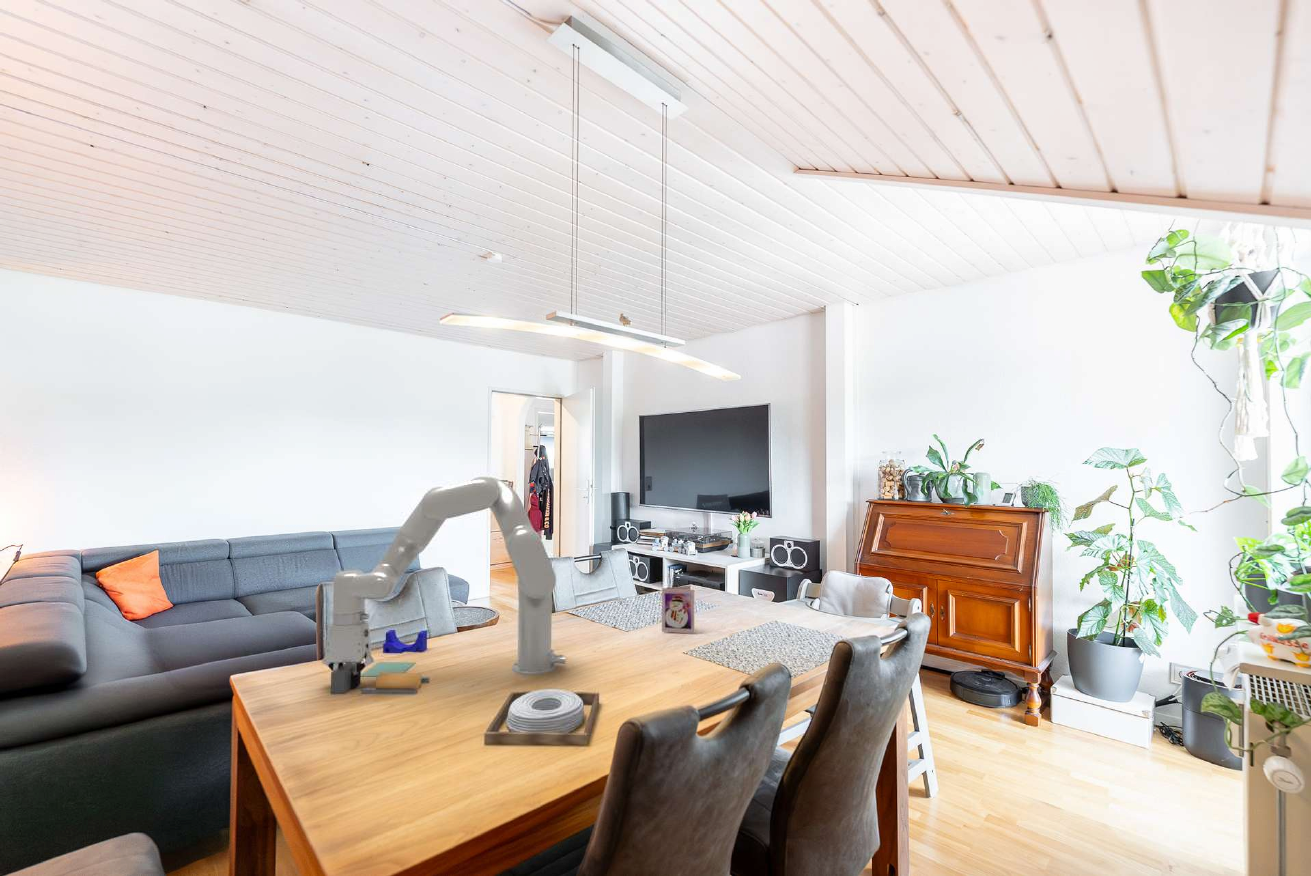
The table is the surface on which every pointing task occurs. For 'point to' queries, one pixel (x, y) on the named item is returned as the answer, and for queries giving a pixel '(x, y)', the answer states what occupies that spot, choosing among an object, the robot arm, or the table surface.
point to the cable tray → (540, 737)
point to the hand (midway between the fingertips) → (347, 687)
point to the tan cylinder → (399, 680)
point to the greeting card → (678, 609)
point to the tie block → (342, 679)
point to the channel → (393, 689)
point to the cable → (546, 712)
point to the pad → (387, 668)
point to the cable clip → (398, 647)
